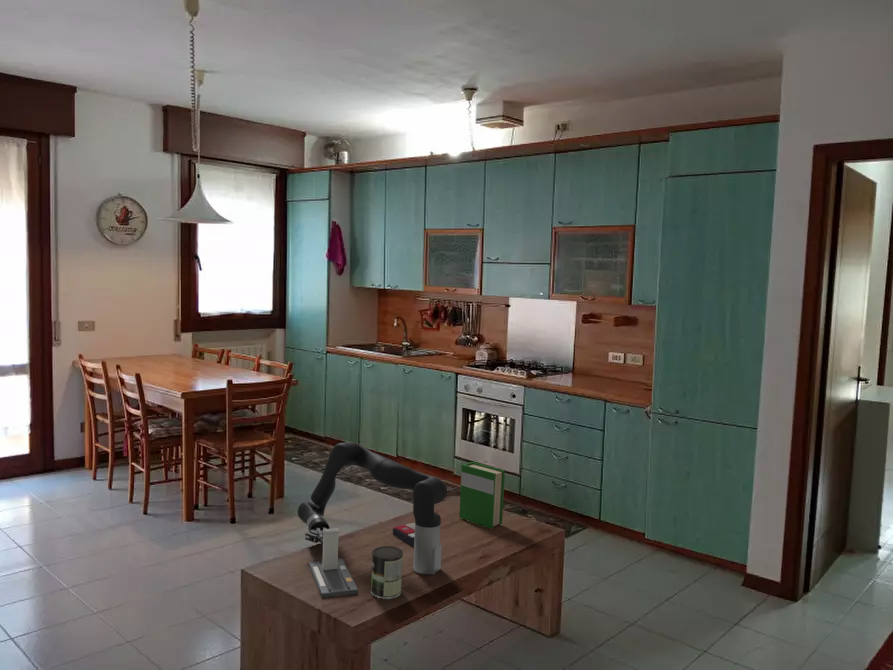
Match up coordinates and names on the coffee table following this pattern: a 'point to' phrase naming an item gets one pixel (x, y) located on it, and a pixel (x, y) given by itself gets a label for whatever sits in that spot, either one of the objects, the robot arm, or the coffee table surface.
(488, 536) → the coffee table surface
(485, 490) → the hardback book
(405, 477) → the robot arm
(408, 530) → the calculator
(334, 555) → the switch tab
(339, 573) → the switch base
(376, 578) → the coffee can
